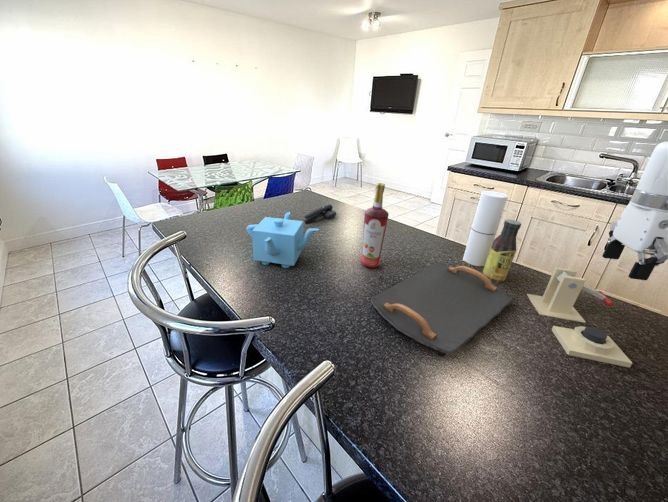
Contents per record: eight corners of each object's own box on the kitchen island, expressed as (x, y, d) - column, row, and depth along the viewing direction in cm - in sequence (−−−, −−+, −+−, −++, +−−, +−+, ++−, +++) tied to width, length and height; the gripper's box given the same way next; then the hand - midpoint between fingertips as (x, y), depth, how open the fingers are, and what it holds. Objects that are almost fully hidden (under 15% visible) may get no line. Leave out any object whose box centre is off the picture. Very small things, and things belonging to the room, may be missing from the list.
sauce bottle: (492, 286, 89) (513, 227, 81) (476, 275, 95) (494, 218, 86) (509, 283, 91) (531, 225, 83) (492, 273, 96) (511, 216, 88)
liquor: (357, 268, 97) (366, 186, 86) (360, 257, 104) (369, 180, 92) (380, 272, 95) (392, 188, 84) (381, 261, 102) (393, 182, 90)
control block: (604, 343, 69) (612, 330, 68) (627, 370, 62) (637, 356, 60) (550, 332, 72) (556, 319, 70) (566, 357, 65) (573, 344, 63)
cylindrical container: (457, 259, 104) (476, 191, 94) (473, 256, 106) (493, 189, 96) (474, 269, 98) (495, 198, 88) (490, 266, 100) (513, 196, 90)
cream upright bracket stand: (566, 304, 82) (583, 268, 77) (584, 325, 74) (604, 287, 70) (525, 297, 85) (539, 261, 80) (538, 317, 77) (555, 279, 72)
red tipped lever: (597, 297, 77) (604, 290, 76) (609, 309, 73) (617, 302, 72) (553, 275, 78) (561, 268, 77) (563, 285, 74) (570, 278, 73)
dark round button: (597, 334, 67) (601, 328, 66) (607, 346, 64) (611, 340, 63) (578, 330, 68) (581, 324, 67) (587, 342, 64) (591, 336, 64)
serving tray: (439, 266, 99) (443, 250, 96) (517, 303, 82) (524, 284, 80) (360, 310, 78) (362, 291, 75) (442, 371, 61) (449, 349, 58)
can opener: (327, 212, 143) (328, 201, 141) (337, 216, 138) (338, 205, 136) (299, 221, 133) (299, 209, 131) (309, 226, 128) (309, 214, 126)
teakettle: (244, 253, 104) (241, 215, 98) (290, 242, 113) (290, 206, 107) (267, 280, 90) (266, 237, 84) (318, 264, 99) (319, 224, 93)
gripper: (717, 216, 55) (672, 291, 62) (648, 190, 71) (618, 253, 77) (666, 212, 57) (627, 285, 64) (610, 188, 73) (584, 249, 79)
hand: (622, 267), depth 71 cm, fingers open, 9 cm apart
